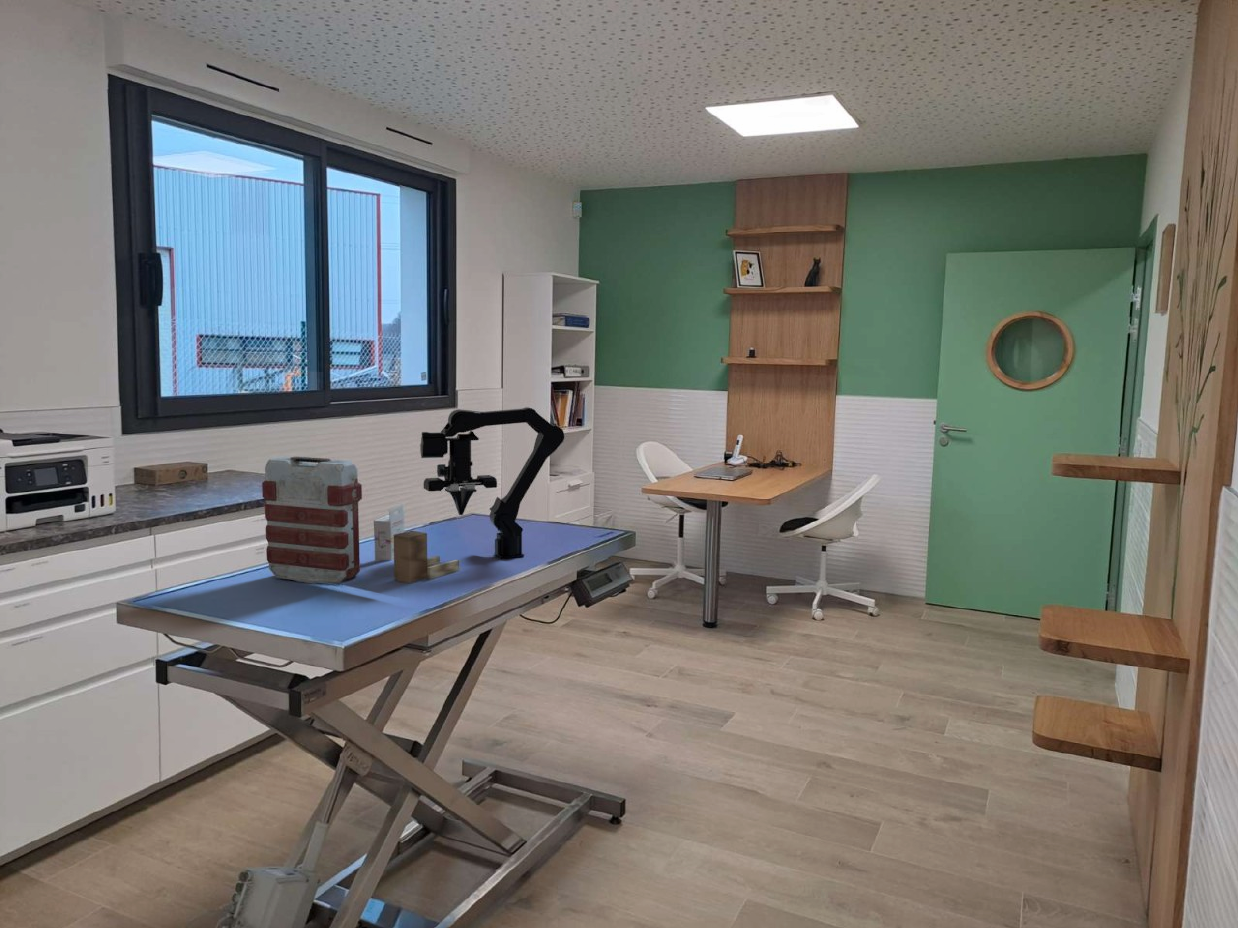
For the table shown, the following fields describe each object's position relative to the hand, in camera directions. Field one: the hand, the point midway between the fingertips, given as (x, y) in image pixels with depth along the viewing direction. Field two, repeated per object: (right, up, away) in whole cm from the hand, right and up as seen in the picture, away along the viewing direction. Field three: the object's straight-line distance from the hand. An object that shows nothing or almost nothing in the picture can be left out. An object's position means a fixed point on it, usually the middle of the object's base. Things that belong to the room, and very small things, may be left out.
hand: (460, 514), depth 242 cm
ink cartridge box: (-18, -12, -2) cm, 22 cm away
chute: (-4, -15, -20) cm, 25 cm away
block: (-8, -14, -25) cm, 30 cm away
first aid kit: (-32, -15, -22) cm, 41 cm away
